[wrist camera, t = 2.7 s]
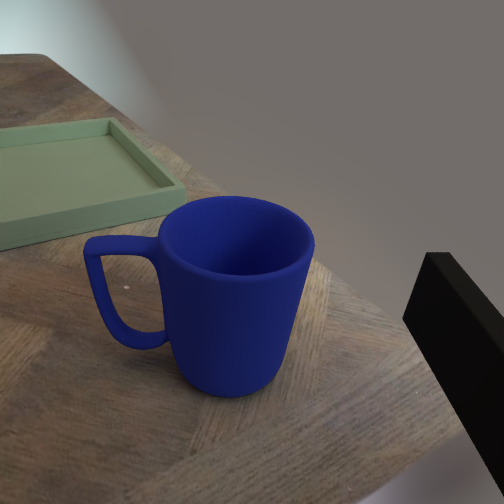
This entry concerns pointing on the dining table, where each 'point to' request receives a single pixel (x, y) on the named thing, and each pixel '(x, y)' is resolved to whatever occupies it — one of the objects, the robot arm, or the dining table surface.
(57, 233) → the tray
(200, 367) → the mug
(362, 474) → the dining table surface
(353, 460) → the dining table surface
